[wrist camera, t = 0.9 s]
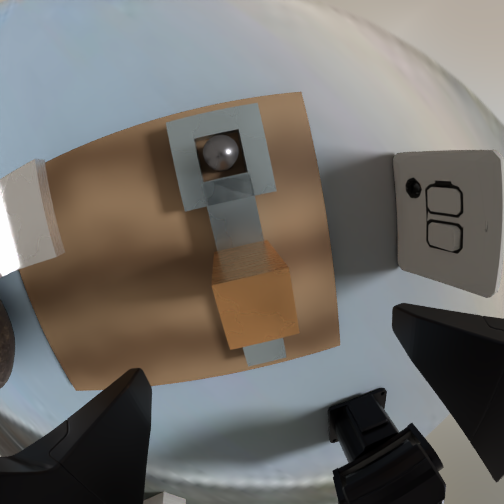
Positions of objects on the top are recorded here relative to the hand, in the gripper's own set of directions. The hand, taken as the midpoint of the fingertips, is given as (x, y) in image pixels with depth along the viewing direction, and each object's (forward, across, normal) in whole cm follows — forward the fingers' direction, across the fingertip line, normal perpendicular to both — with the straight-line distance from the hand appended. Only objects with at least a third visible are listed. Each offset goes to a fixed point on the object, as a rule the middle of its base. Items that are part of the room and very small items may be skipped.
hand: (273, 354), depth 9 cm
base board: (+11, +6, -1) cm, 13 cm away
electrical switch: (+11, -15, -1) cm, 19 cm away
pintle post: (+11, 0, -7) cm, 13 cm away
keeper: (+10, +14, -7) cm, 19 cm away
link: (+10, 0, -1) cm, 10 cm away
